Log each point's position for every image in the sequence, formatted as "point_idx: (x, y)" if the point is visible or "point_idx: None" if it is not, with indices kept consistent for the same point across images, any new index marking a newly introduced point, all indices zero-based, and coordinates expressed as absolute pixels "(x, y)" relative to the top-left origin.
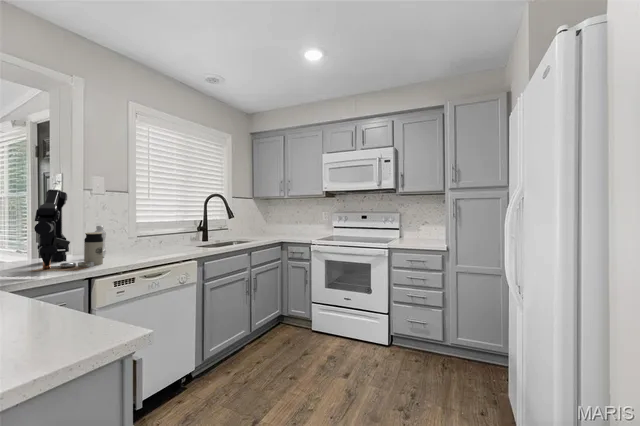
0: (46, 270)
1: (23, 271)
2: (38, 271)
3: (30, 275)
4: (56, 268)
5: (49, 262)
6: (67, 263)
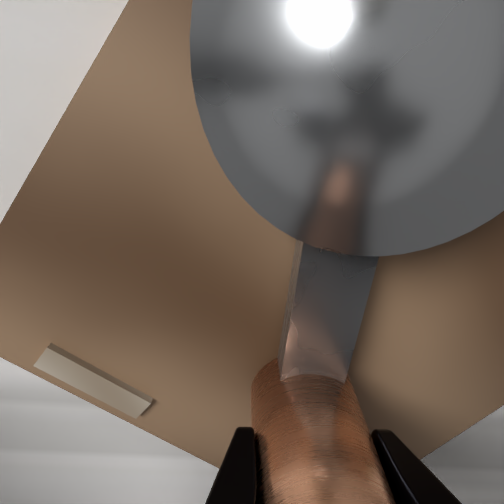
0: (425, 393)
1: (77, 498)
2: (424, 456)
3: (432, 472)
4: None
5: (448, 491)
6: (405, 84)
